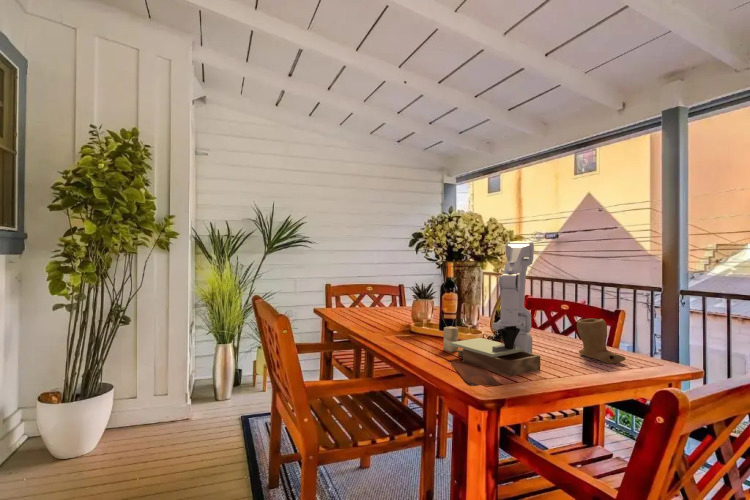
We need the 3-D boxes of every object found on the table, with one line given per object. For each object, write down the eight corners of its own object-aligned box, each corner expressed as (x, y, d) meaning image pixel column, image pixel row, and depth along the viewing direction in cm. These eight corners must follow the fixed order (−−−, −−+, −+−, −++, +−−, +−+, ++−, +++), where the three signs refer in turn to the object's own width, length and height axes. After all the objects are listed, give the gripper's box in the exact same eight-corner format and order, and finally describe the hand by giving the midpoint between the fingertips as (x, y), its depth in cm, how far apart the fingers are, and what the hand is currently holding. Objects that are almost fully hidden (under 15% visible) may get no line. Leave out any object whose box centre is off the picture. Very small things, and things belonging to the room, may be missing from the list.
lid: (480, 340, 159) (480, 333, 159) (523, 351, 143) (523, 343, 143) (450, 345, 151) (450, 338, 151) (492, 357, 134) (492, 349, 134)
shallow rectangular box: (478, 351, 160) (478, 340, 160) (540, 369, 137) (540, 355, 137) (448, 357, 151) (449, 344, 151) (509, 376, 128) (509, 362, 128)
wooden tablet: (501, 388, 119) (502, 382, 119) (468, 388, 119) (468, 382, 119) (475, 362, 146) (475, 358, 146) (447, 362, 146) (447, 358, 146)
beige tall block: (450, 348, 165) (451, 326, 165) (457, 350, 161) (458, 328, 161) (443, 349, 162) (443, 327, 162) (450, 351, 159) (450, 329, 159)
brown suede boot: (569, 354, 158) (570, 315, 158) (597, 353, 159) (598, 315, 159) (596, 365, 143) (596, 322, 143) (626, 364, 144) (627, 322, 144)
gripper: (513, 306, 145) (513, 344, 145) (485, 308, 138) (485, 348, 138) (530, 308, 140) (530, 348, 140) (502, 311, 132) (501, 353, 132)
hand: (508, 348), depth 138 cm, fingers closed
